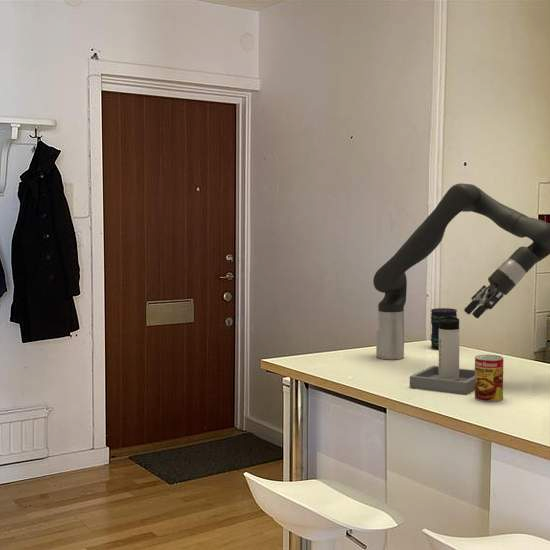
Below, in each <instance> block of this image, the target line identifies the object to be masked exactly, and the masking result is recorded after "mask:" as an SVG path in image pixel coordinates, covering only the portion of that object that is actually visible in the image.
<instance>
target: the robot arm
mask: <svg viewBox="0 0 550 550" xmlns="http://www.w3.org/2000/svg"><path fill="white" fill-rule="evenodd" d="M461 212H462V213H463V212H465V213H467V212H468V213H469V212H472V213H475V214H478V215H482V216H484V217H486V218H488V219H490V220H491V221H492V222H493V223H495V224H496V225H497V226H498V227H499V228H500V229H502V230H504V231H505V232H508V233H510V234H511V235H514V236H515V237H517V238H521V239H522V238H528V239H530V240H531V241H532V243H531V244H529V245H528V246H524V245H523V246H519V247H518V248H517V249H516V250H515V251H514V252H513V253H512V254H511V255H510V256H509V257H508V258H507V259H505V260H504V261H503V262H502V263H501V264H500V265H499V266H498V267H497V269H495V270H494V271H493V272H492V274H491V275H489V277H488V278H487V281H488V283H489V285H488V286H486V285H482V286H481V288H480V289H478V290H477V291H476V292H475V294H474V295H473V296H472V297H470V299H471V300H470V303H469V304H467V306H466V307H464V309H463V312H465V313H466V315H473V316H474V318H475V319H479V318H480V317H481V316H482V315H483V314H484V313H485V312H486V311H488V310H492V309H493V308H494V307H495V306H496V305H497V304H498V302H500V300H501V299H502V298H504V296H506V295H508V294H510V292H511V291H512V290H513V289H514V288H515V287H516V286H517V285H518V283H520V282H521V281H522V280H523V278H524V277H525V275H526V274H528V272H530V270H531V269H532V268H533V267H534V266H535V265H536V264H537V263H539V262H541V261H542V260H543V259H545V258H546V257H548V256H550V223H548V222H547V221H544V220H542V219H537V218H534V217H529V216H527V215H526V214H524V213H522V212H519V210H518V211H517V210H516V209H514V208H512V207H510V206H507V205H504V204H503V203H501V202H500V201H497V200H496V199H495V198H493V197H492V196H490V195H489V194H487V193H486V192H485V191H483V190H482V189H481V188H480V187H478V186H476V185H475V184H471V183H456V184H454V185H452V186H450V188H449V189H448V190H447V191H446V193H445V194H444V195H443V197H442V198H441V199H440V201H439V202H438V204H437V206H435V208H434V209H433V210H432V212H431V213H430V214H429V215H428V216H427V217H426V218H425V220H424V221H423V222H422V223H421V224H420V225H419V226H418V227H417V228H416V229H415V231H414V232H413V233H412V234H411V235H410V236H409V238H408V239H407V240H406V241H405V242H404V243H403V244H402V245H401V246H400V248H399V249H398V250H397V251H396V253H394V255H393V256H392V257H390V259H388V260H387V261H386V262H385V263H384V264H383V265H382V266H381V267H379V268H378V269H377V271H375V274H374V276H373V284H372V285H373V286H374V288H375V290H376V291H377V292H380V293H383V294H384V297H383V298H382V300H380V301H379V302H378V306H377V312H378V313H377V314H378V316H377V317H378V320H377V321H378V323H377V324H378V327H377V328H378V330H376V333H375V337H376V339H375V340H376V341H375V344H376V345H375V346H376V347H375V348H376V349H375V351H376V352H375V353H376V354H375V355H376V358H378V359H383V360H401V359H404V358H405V318H404V316H405V311H404V310H405V309H404V308H405V304H406V303H407V286H408V283H407V282H408V280H407V275H406V272H407V271H408V270H409V269H411V268H412V267H414V266H415V265H416V264H417V265H418V263H420V262H422V261H423V260H425V259H426V258H427V257H428V256H429V255H431V253H433V252H434V250H436V248H437V247H438V246H439V245H440V243H441V242H442V240H443V238H444V234H445V232H446V229H447V227H448V225H449V224H450V223H451V222H452V220H453V219H455V218H456V216H457V215H458V214H460V213H461Z"/></svg>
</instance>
